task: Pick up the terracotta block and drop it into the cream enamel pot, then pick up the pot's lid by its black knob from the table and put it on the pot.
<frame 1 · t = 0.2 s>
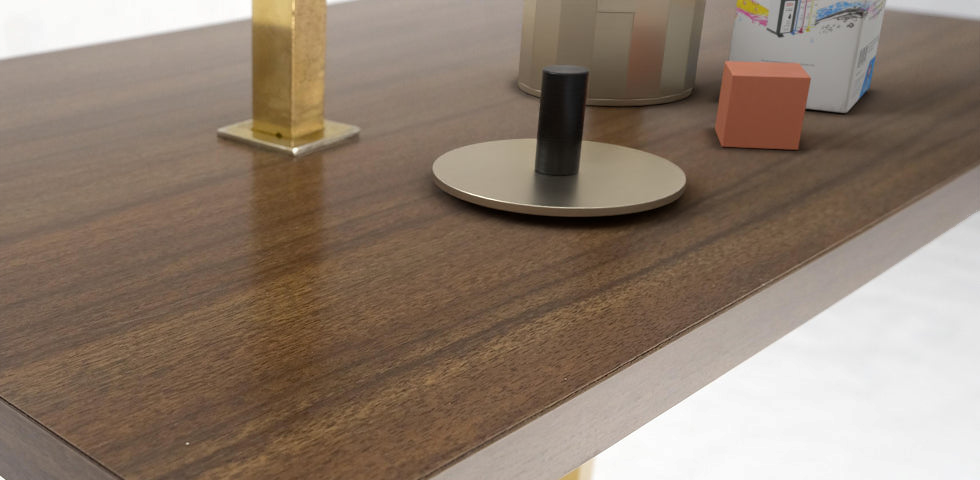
block: (754, 139, 73), on the table
ink box: (794, 98, 84), on the table
lid: (555, 178, 65), point 1 cm above the table
pot: (603, 87, 88), on the table
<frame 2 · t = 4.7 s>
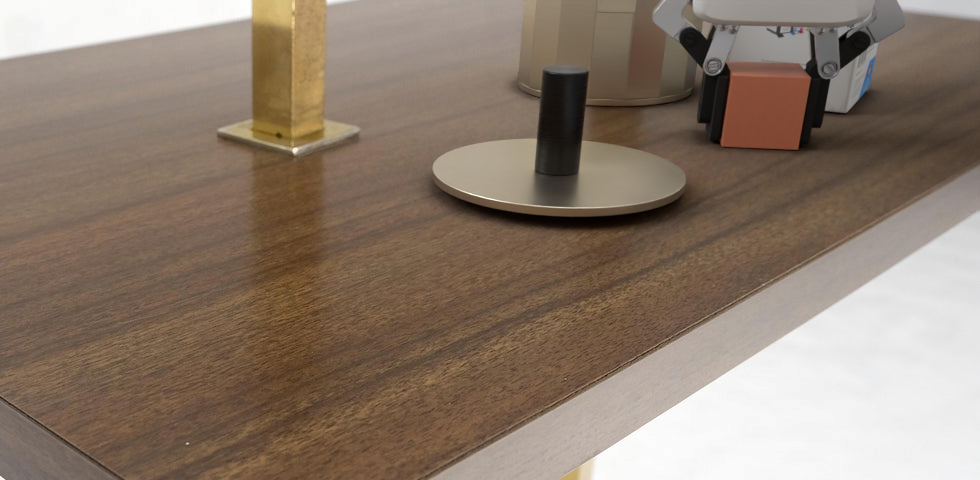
hand: (755, 134, 73), 0 cm above the table, tool pointing down, fingers closed on block, 4 cm apart
block: (754, 139, 73), on the table, touching gripper
everything else where it was.
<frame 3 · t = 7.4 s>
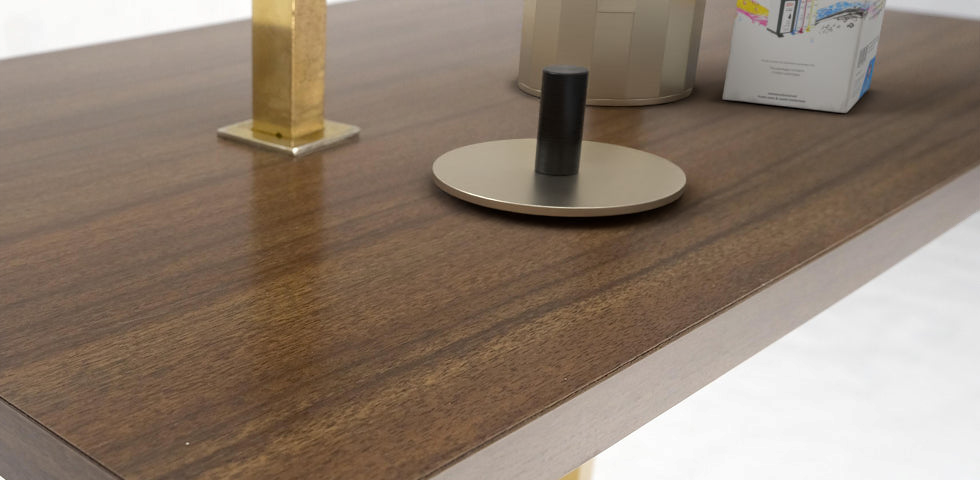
when the fingers open (8 cm above the table, at t = 10.2 s): block drops 7 cm, resting on pot.
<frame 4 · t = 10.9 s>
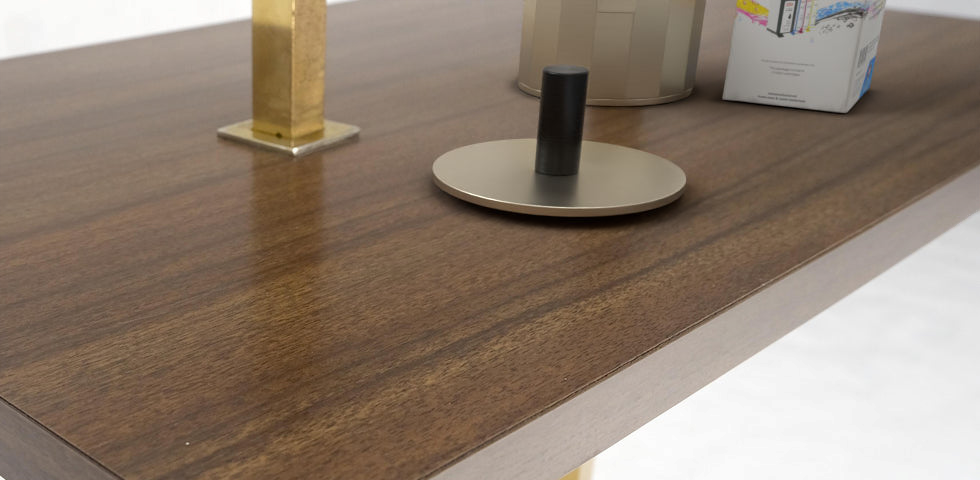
block: (604, 80, 88), resting on pot
everything else where it was.
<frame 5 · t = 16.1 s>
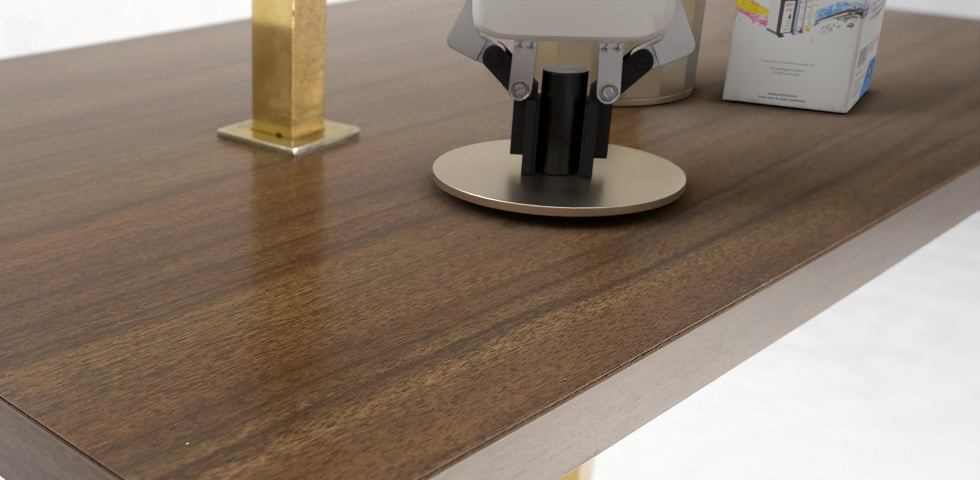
hand: (556, 166, 64), 1 cm above the table, tool pointing down, fingers closed on lid, 2 cm apart
lid: (555, 178, 65), point 1 cm above the table, touching gripper
everything else where it was.
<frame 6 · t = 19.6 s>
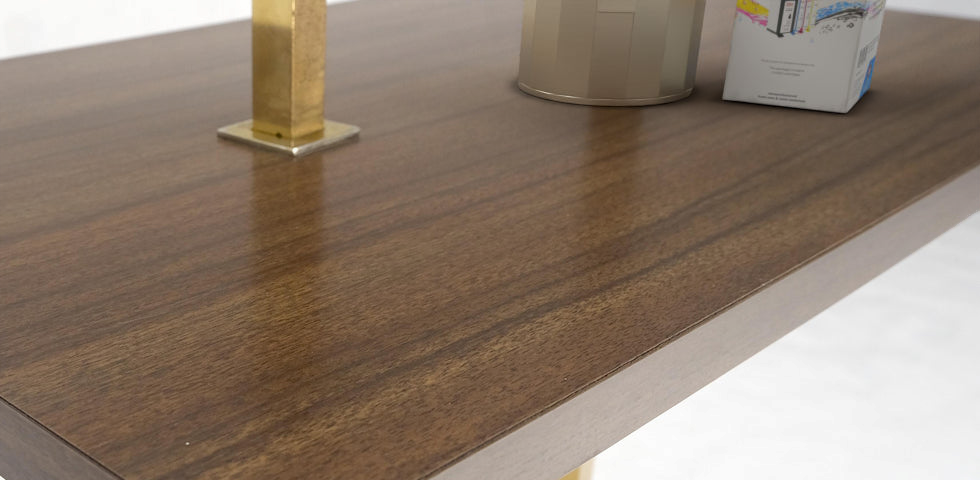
when the fingers open (9 cm above the table, at t = 23.5 s): lid stays where it is, resting on pot.
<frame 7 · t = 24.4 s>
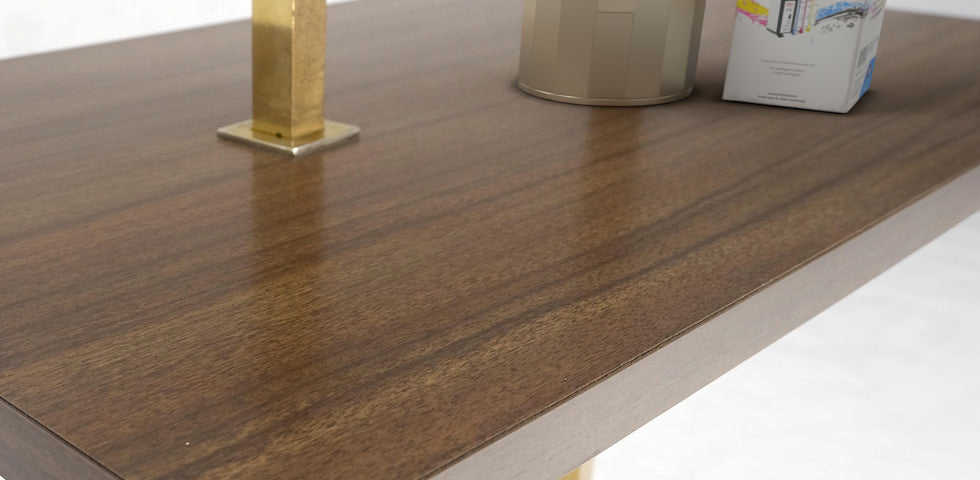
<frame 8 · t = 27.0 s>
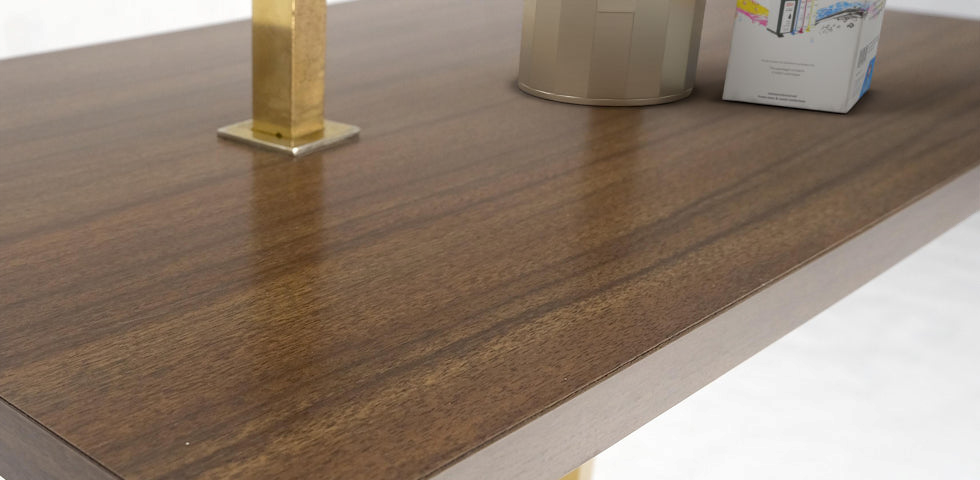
at the end: block inside the target area in the pot (0.0 cm from its centre), point 0.5 cm above the pot's base; lid 0.0 cm off-centre on the pot, point 8.5 cm above the pot's base; lid tilted 0° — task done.
